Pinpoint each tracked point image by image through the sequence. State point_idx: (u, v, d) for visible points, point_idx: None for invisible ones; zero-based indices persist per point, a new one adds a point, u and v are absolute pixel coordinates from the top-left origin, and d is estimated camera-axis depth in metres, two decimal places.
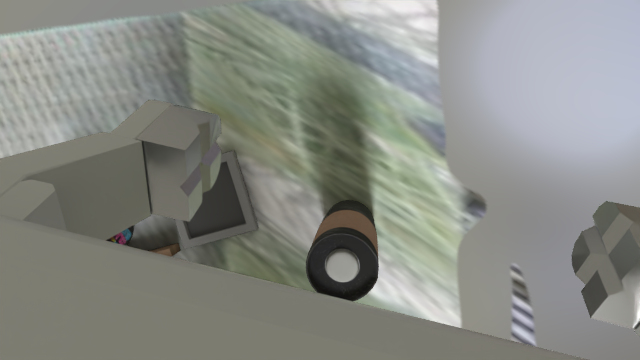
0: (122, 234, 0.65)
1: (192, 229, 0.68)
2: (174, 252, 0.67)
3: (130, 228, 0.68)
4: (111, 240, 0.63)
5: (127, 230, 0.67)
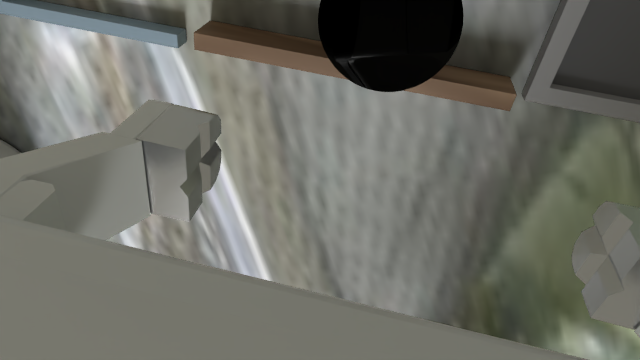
0: None
1: (563, 67, 0.30)
2: None
3: None
4: None
5: None
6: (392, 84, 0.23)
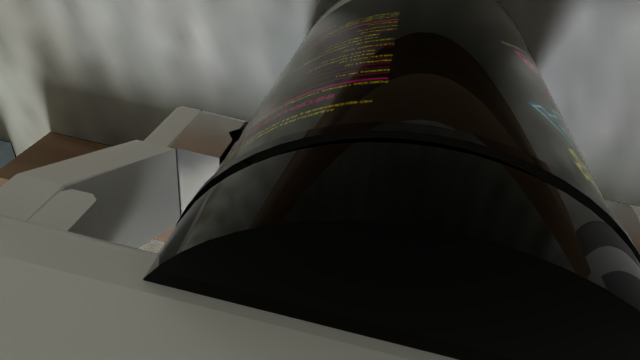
0: None
1: None
2: None
3: None
4: None
5: None
6: None
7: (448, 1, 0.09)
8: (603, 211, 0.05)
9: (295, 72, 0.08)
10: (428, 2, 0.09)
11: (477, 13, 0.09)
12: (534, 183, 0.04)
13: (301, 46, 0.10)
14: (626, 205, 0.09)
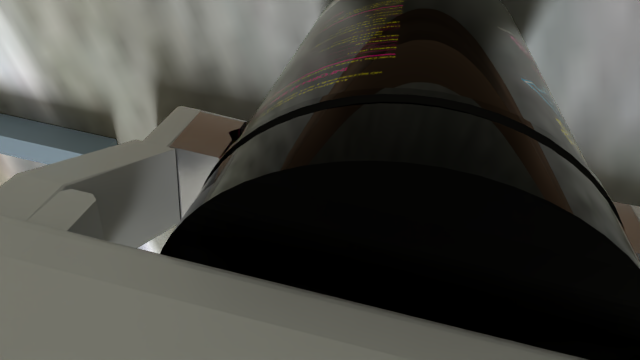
0: None
1: None
2: None
3: None
4: None
5: None
6: None
7: None
8: (583, 166, 0.05)
9: (308, 52, 0.08)
10: None
11: (475, 2, 0.10)
12: (523, 138, 0.05)
13: (311, 32, 0.11)
14: (626, 205, 0.09)
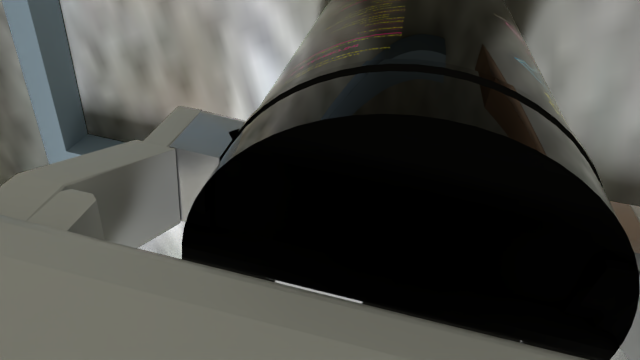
0: None
1: None
2: None
3: None
4: None
5: None
6: None
7: None
8: (566, 129, 0.06)
9: (320, 34, 0.09)
10: None
11: None
12: (514, 102, 0.06)
13: (320, 18, 0.11)
14: (626, 205, 0.09)
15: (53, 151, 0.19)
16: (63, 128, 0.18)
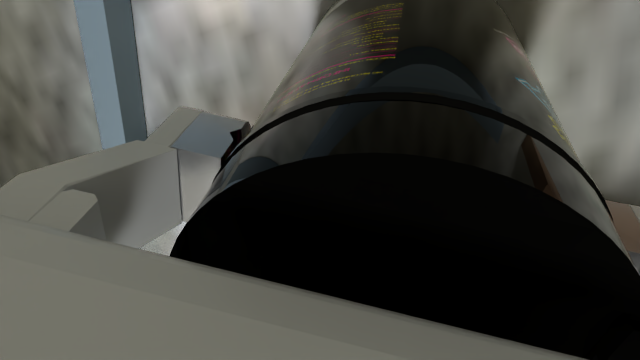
0: None
1: None
2: None
3: None
4: None
5: None
6: None
7: None
8: (572, 159, 0.06)
9: (312, 54, 0.09)
10: None
11: (472, 5, 0.10)
12: (515, 132, 0.05)
13: (313, 34, 0.11)
14: (625, 205, 0.09)
15: None
16: None
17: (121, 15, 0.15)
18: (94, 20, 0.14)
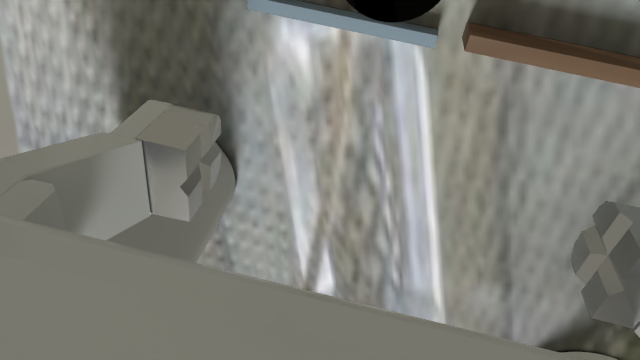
0: None
1: None
2: None
3: None
4: None
5: None
6: (395, 15, 0.25)
7: None
8: None
9: None
10: None
11: None
12: None
13: None
14: None
15: None
16: None
17: None
18: None
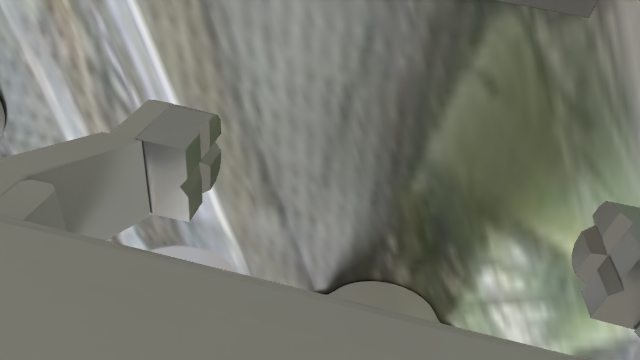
0: None
1: None
2: None
3: None
4: None
5: None
6: None
7: None
8: None
9: None
10: None
11: None
12: None
13: None
14: None
15: None
16: None
17: None
18: None
